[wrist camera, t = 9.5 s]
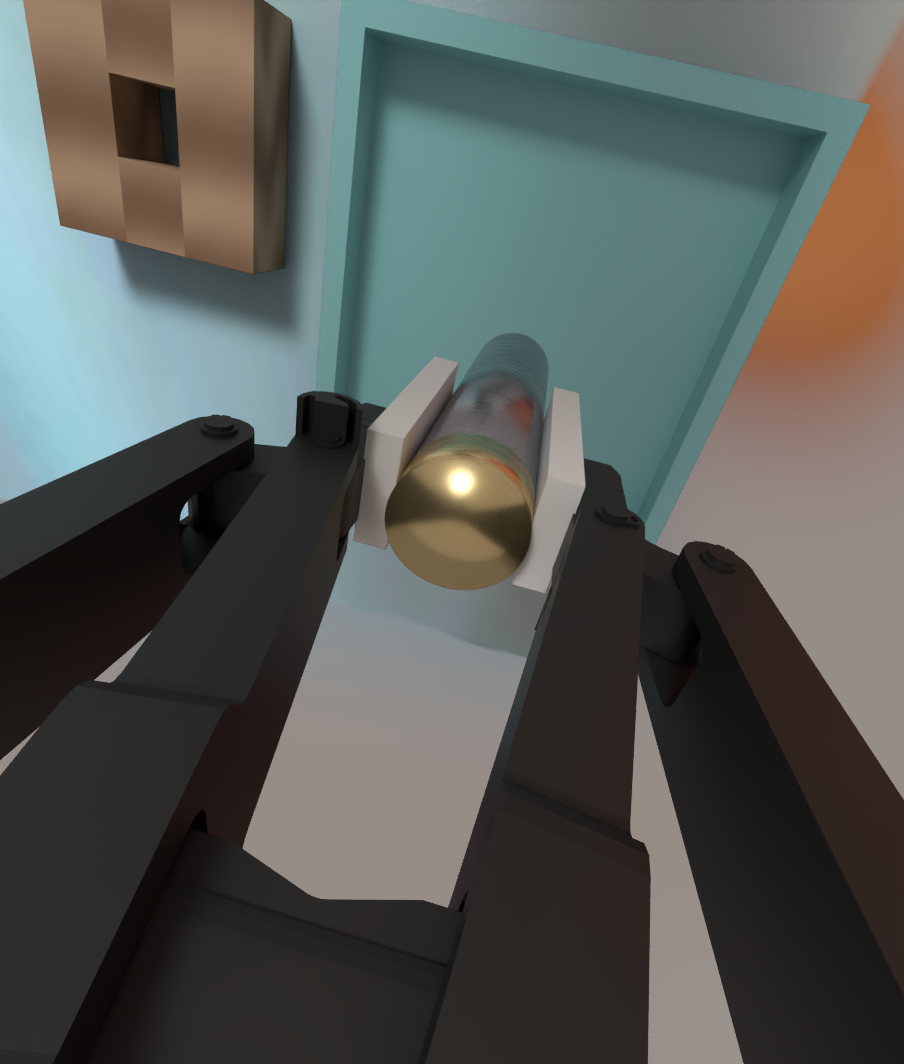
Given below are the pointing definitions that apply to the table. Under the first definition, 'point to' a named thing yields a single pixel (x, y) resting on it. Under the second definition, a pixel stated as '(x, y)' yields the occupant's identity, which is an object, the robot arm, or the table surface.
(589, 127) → the tray
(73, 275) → the table surface
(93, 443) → the table surface
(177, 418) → the table surface
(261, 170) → the pin block
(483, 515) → the pin
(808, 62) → the table surface
